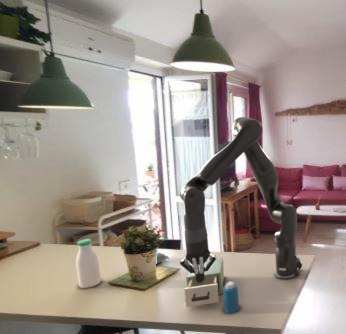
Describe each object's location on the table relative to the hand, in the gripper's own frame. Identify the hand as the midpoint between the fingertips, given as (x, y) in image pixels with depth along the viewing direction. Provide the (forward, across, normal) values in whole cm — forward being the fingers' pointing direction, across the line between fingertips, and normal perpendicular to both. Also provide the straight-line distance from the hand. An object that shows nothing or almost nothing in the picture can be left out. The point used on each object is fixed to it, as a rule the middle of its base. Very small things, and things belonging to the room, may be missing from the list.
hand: (200, 281), depth 126 cm
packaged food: (+11, -28, +50) cm, 58 cm away
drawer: (+10, 0, +5) cm, 11 cm away
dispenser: (+11, 0, +16) cm, 19 cm away
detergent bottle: (+11, +11, -4) cm, 16 cm away
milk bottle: (+11, -50, +34) cm, 62 cm away
